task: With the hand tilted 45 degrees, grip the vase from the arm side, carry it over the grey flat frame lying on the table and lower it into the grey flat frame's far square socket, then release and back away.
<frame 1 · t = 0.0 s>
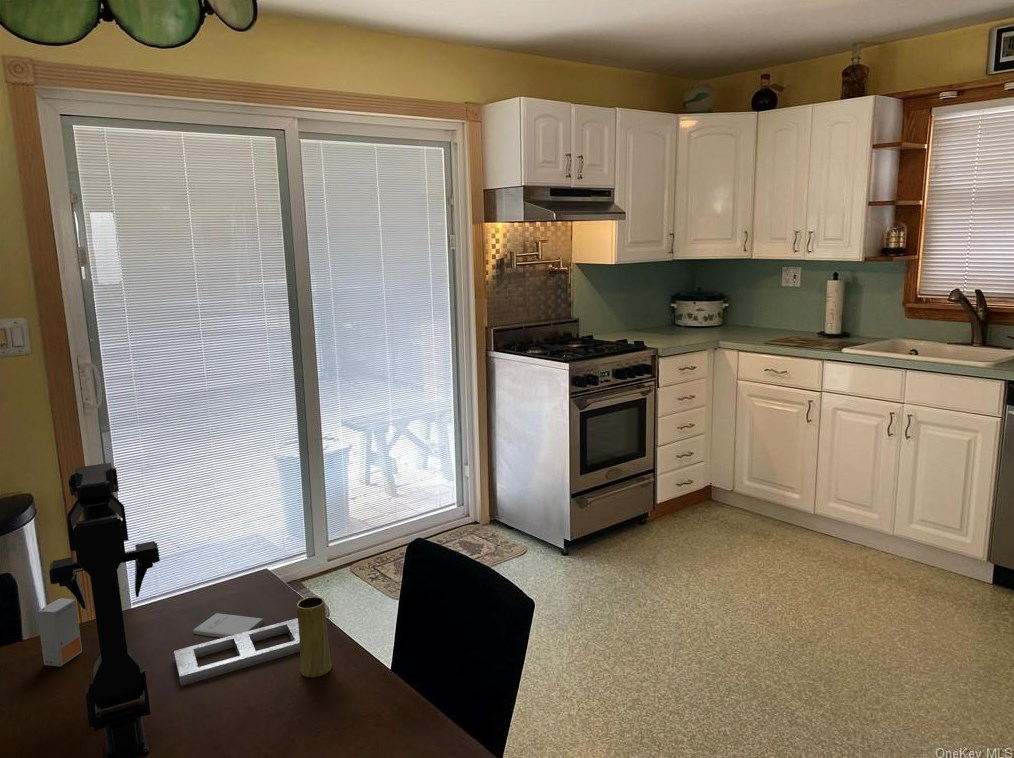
hand: (111, 602, 146), 15 cm above the table, tool pointing down, fingers open, 9 cm apart
external hard drive: (229, 631, 164), on the table
grey flat frame: (245, 653, 153), on the table
vase: (316, 670, 146), on the table
skincare box: (64, 659, 153), on the table
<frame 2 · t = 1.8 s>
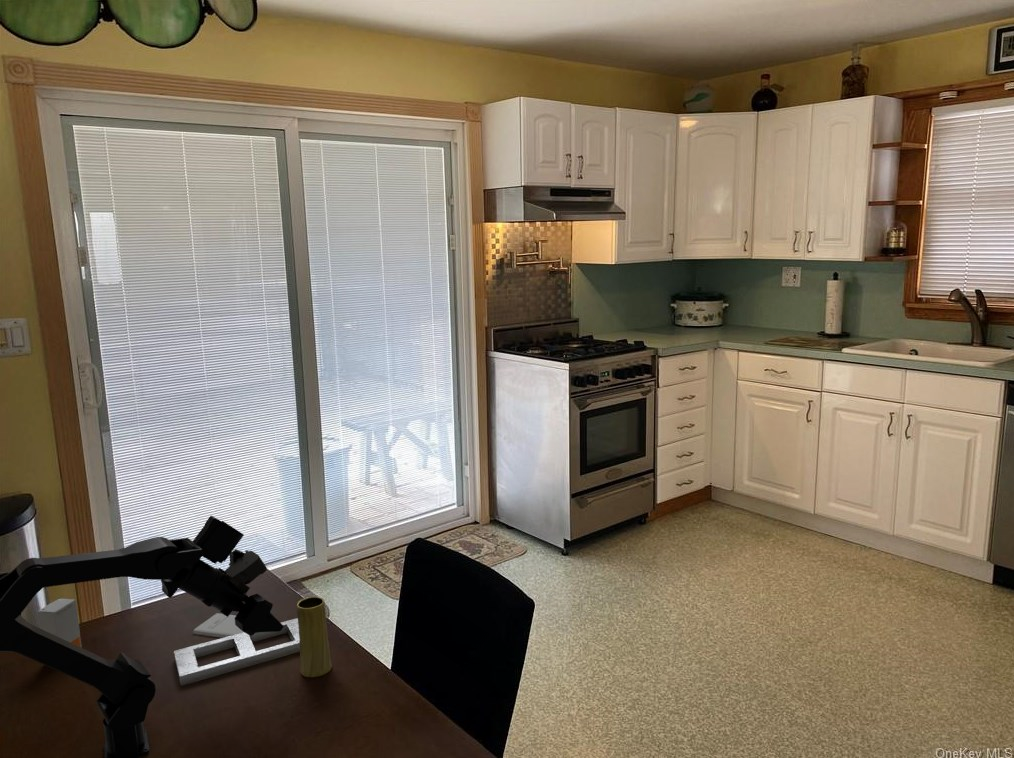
hand: (271, 619, 139), 13 cm above the table, tool tilted 45°, fingers open, 9 cm apart
nothing on the table moved.
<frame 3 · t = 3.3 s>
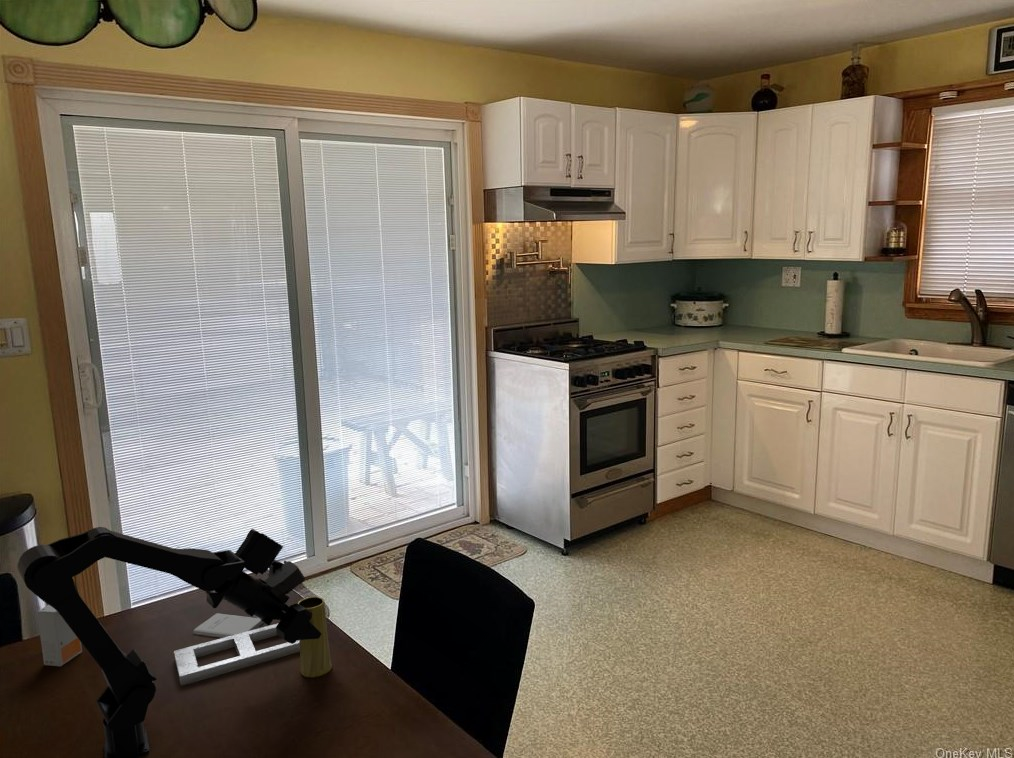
hand: (308, 627, 144), 9 cm above the table, tool tilted 45°, fingers open, 9 cm apart
nothing on the table moved.
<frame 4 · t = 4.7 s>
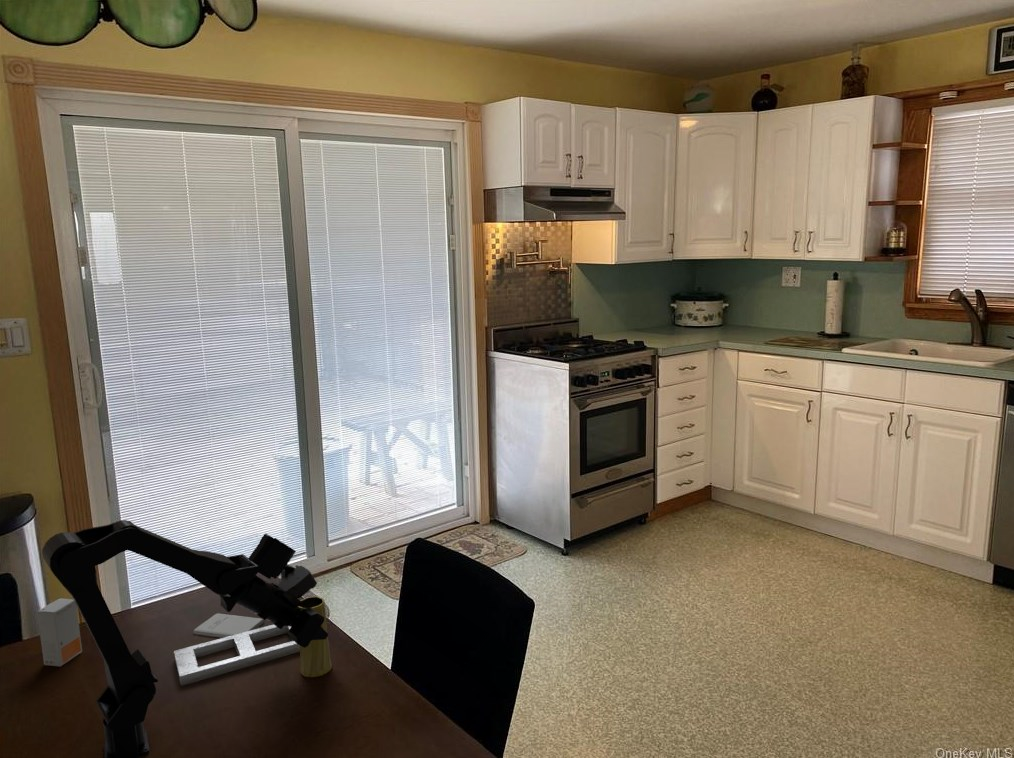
hand: (319, 631, 146), 8 cm above the table, tool tilted 45°, fingers closed on vase, 5 cm apart
vase: (316, 670, 146), on the table, touching gripper
everything else where it was.
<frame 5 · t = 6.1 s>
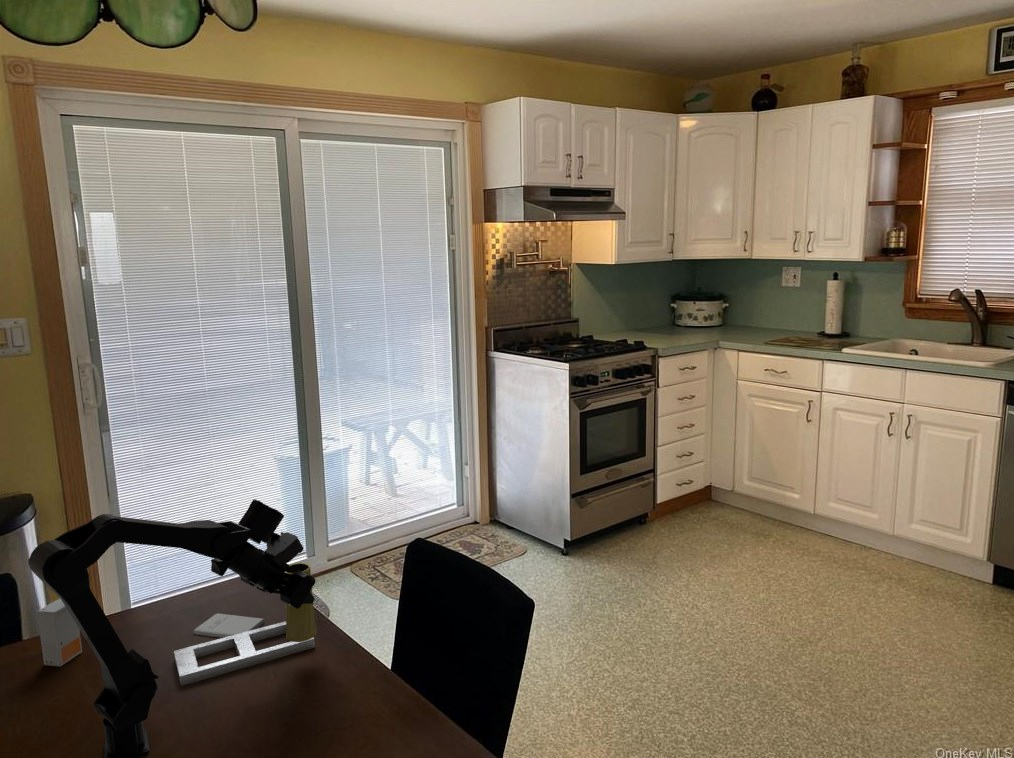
hand: (304, 597, 148), 13 cm above the table, tool tilted 45°, fingers closed on vase, 5 cm apart
vase: (301, 635, 149), point 5 cm above the table, touching gripper
everything else where it was.
when the fingers open (10 cm above the table, at t = 8.1 s): vase drops 2 cm, resting in grey flat frame.
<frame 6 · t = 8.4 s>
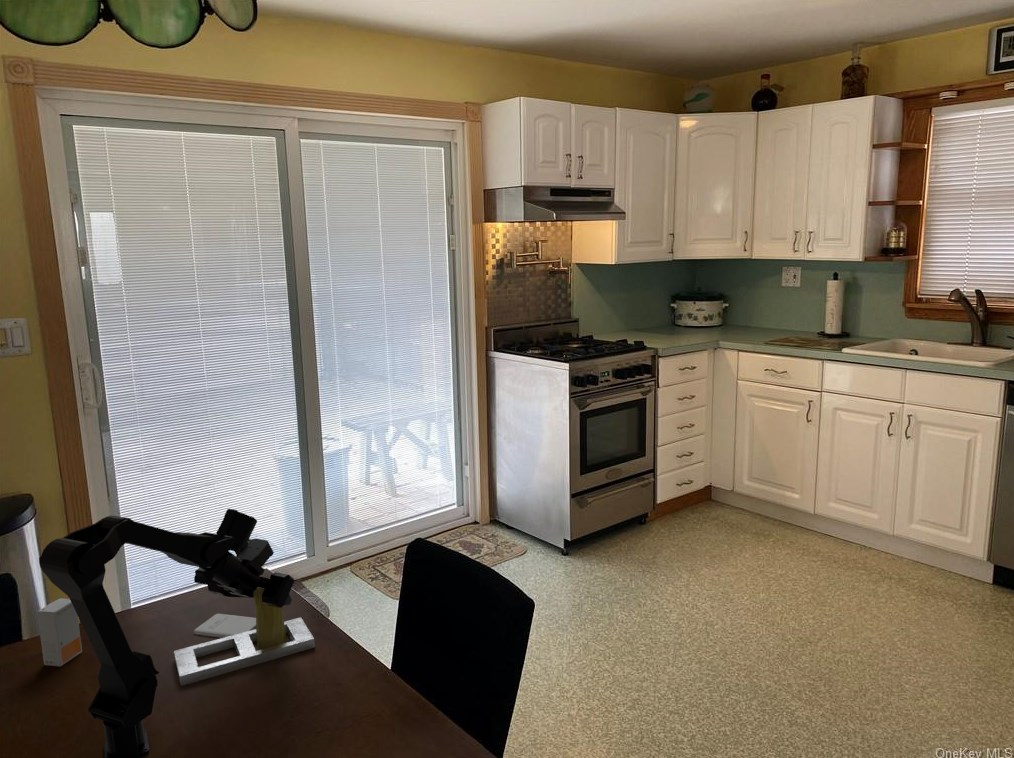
hand: (273, 598, 155), 10 cm above the table, tool tilted 45°, fingers open, 9 cm apart
vase: (272, 647, 156), resting in grey flat frame
everything else where it was.
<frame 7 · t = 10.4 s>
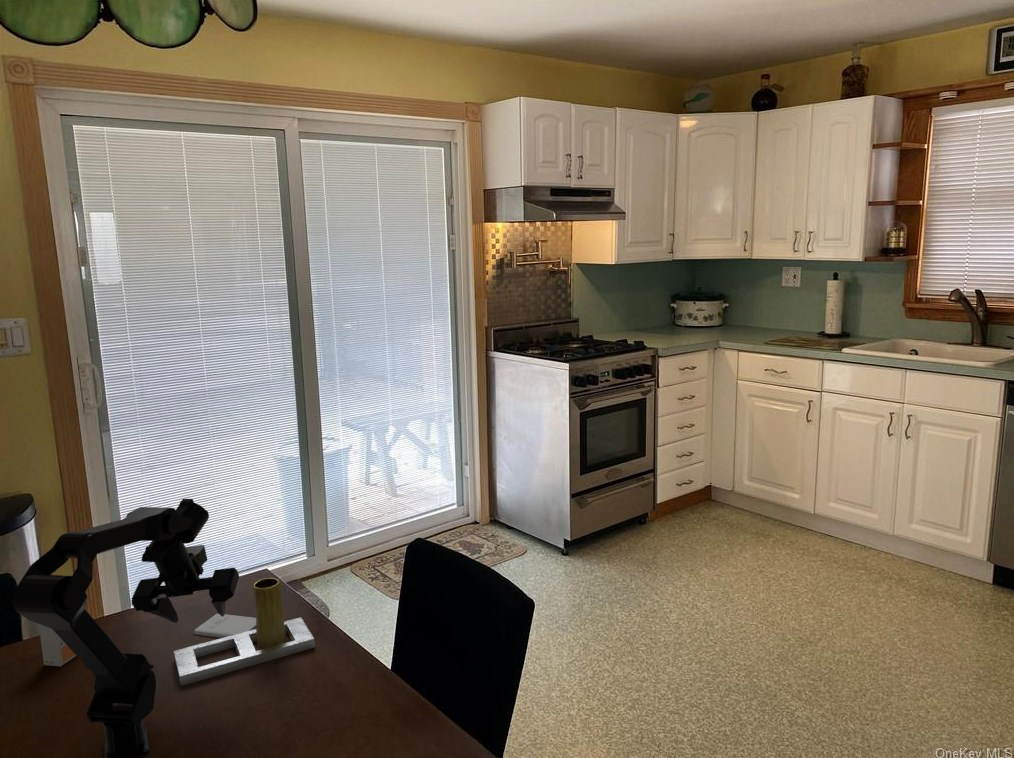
hand: (200, 617, 145), 11 cm above the table, tool tilted 25°, fingers open, 9 cm apart
nothing on the table moved.
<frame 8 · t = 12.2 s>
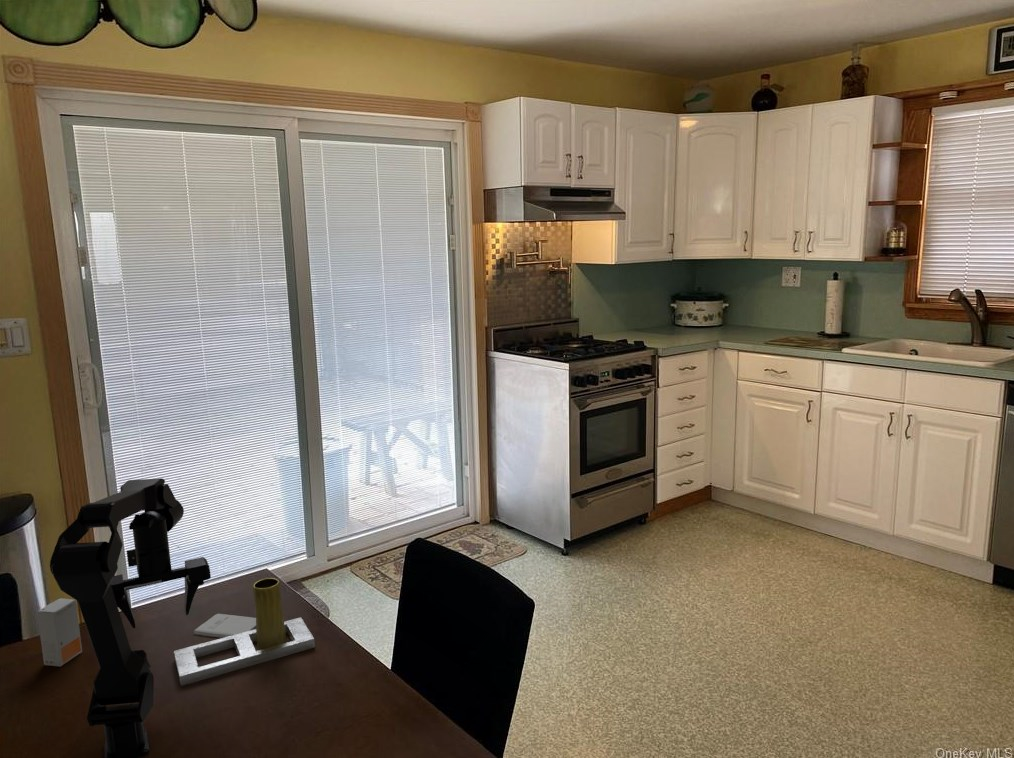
hand: (161, 620, 141), 13 cm above the table, tool pointing down, fingers open, 9 cm apart
nothing on the table moved.
at the end: vase 0.1 cm from the target spot, resting in grey flat frame; vase tilted 0°; the gripper is holding nothing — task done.
